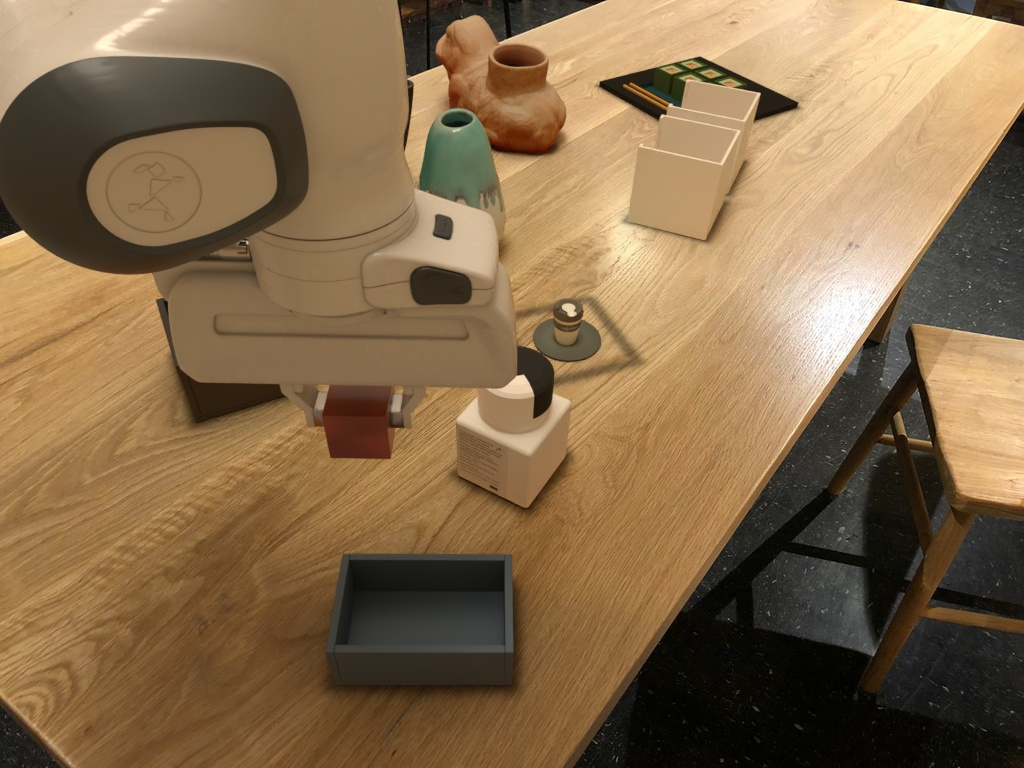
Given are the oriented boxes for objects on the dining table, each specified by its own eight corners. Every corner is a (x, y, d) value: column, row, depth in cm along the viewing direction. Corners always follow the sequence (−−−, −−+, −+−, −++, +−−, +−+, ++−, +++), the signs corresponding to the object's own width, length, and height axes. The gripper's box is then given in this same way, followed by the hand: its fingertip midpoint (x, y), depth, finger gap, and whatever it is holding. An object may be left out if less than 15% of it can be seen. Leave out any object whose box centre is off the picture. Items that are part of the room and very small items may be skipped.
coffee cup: (590, 299, 92) (594, 265, 89) (636, 361, 84) (643, 327, 81) (497, 320, 89) (497, 285, 86) (536, 386, 81) (538, 351, 78)
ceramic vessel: (482, 89, 137) (482, 0, 127) (582, 142, 123) (591, 47, 113) (418, 108, 131) (413, 16, 121) (516, 167, 116) (519, 68, 106)
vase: (450, 285, 94) (446, 148, 82) (398, 244, 100) (386, 111, 88) (523, 253, 99) (528, 121, 87) (469, 216, 106) (467, 87, 93)
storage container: (705, 240, 103) (722, 165, 95) (627, 221, 106) (638, 146, 98) (743, 162, 120) (760, 93, 112) (675, 147, 123) (687, 79, 115)
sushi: (599, 86, 140) (601, 65, 137) (699, 60, 150) (702, 41, 148) (693, 139, 125) (697, 117, 122) (797, 107, 135) (803, 86, 133)
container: (499, 425, 77) (501, 324, 68) (566, 456, 74) (578, 355, 65) (456, 476, 72) (452, 374, 63) (527, 511, 69) (533, 409, 60)
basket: (196, 423, 76) (175, 366, 71) (175, 355, 83) (155, 299, 78) (308, 388, 80) (296, 332, 75) (279, 326, 87) (267, 271, 82)
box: (334, 685, 57) (324, 652, 53) (350, 588, 63) (342, 553, 59) (511, 685, 57) (513, 652, 54) (510, 589, 63) (512, 553, 60)
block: (329, 458, 50) (321, 416, 47) (340, 415, 53) (332, 372, 50) (391, 459, 50) (385, 417, 47) (397, 416, 53) (393, 373, 50)
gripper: (118, 271, 39) (190, 453, 48) (522, 281, 39) (514, 459, 49) (160, 207, 43) (218, 385, 53) (521, 216, 44) (514, 391, 53)
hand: (362, 421), depth 51 cm, fingers closed on block, 4 cm apart
